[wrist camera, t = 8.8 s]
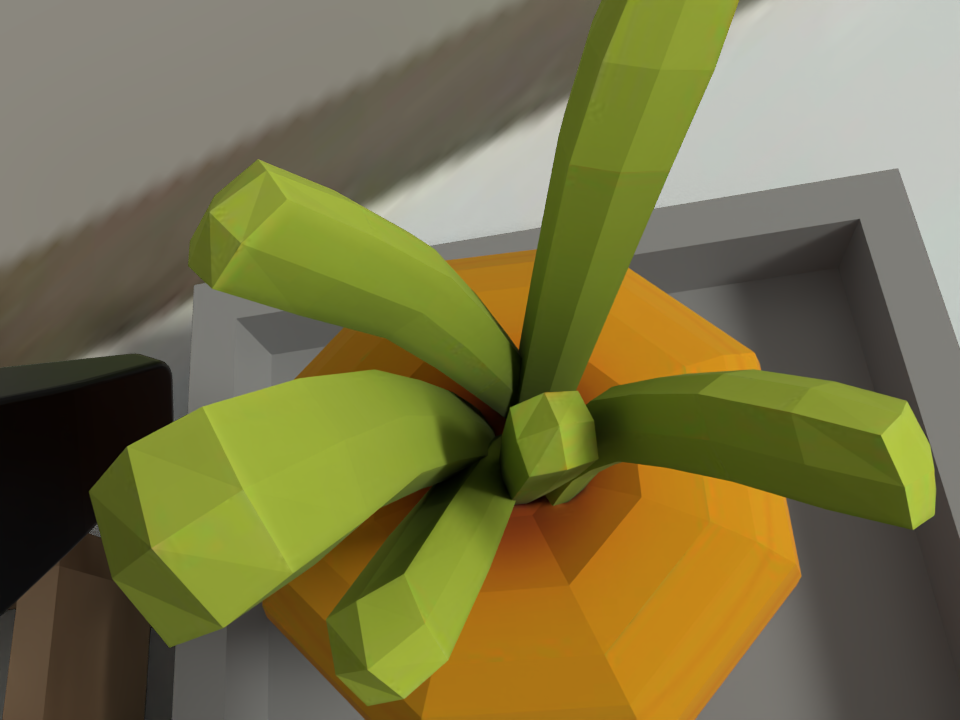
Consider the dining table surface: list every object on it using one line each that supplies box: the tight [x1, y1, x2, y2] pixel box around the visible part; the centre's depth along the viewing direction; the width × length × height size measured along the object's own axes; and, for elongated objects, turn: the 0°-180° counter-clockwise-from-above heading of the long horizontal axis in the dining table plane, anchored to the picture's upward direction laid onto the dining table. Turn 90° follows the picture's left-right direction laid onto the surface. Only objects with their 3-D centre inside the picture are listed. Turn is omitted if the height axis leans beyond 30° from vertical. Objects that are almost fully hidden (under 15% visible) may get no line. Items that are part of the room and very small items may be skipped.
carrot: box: [89, 0, 936, 720], centre depth 10 cm, size 5×5×15 cm
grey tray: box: [172, 169, 960, 720], centre depth 17 cm, size 15×15×3 cm
